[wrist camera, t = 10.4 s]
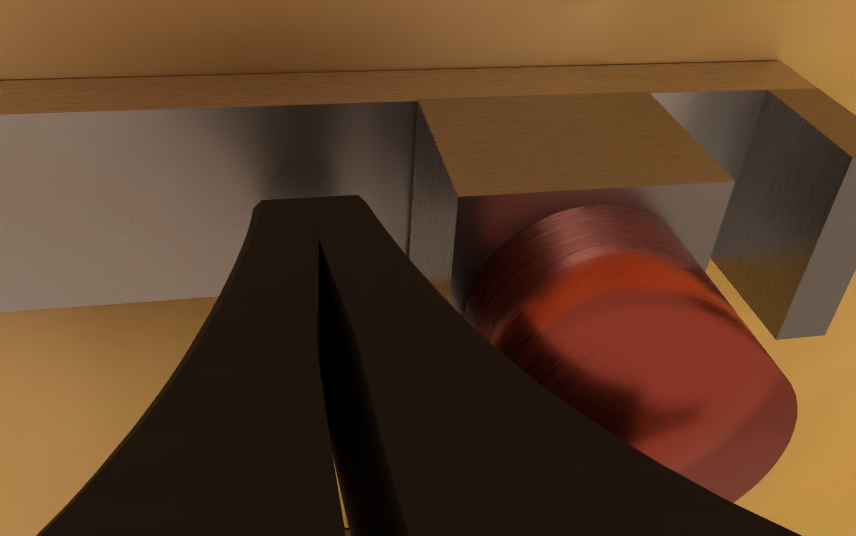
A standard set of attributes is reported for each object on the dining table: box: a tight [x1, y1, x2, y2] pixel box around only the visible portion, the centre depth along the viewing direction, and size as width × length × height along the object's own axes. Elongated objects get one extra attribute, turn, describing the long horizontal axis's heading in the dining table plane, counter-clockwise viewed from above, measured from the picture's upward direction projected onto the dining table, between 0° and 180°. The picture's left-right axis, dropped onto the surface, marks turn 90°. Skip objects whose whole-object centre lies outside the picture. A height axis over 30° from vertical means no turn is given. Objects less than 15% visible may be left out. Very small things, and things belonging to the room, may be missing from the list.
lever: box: [409, 92, 797, 503], centre depth 10 cm, size 3×3×5 cm
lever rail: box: [0, 61, 856, 340], centre depth 11 cm, size 3×13×3 cm, turn 87°
